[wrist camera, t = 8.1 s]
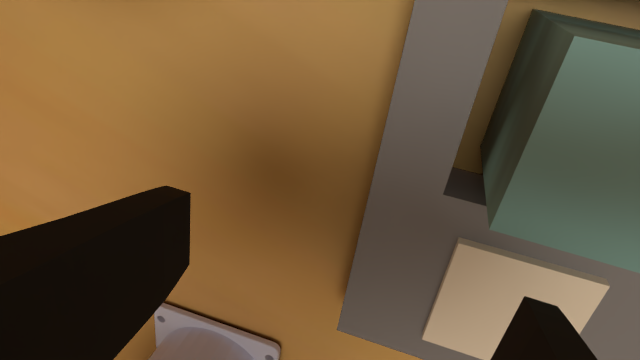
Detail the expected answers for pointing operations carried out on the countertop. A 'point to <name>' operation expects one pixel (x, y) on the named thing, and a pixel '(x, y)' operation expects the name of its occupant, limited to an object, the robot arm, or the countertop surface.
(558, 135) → the block
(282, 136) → the countertop surface
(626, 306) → the frame
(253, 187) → the countertop surface
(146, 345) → the countertop surface
